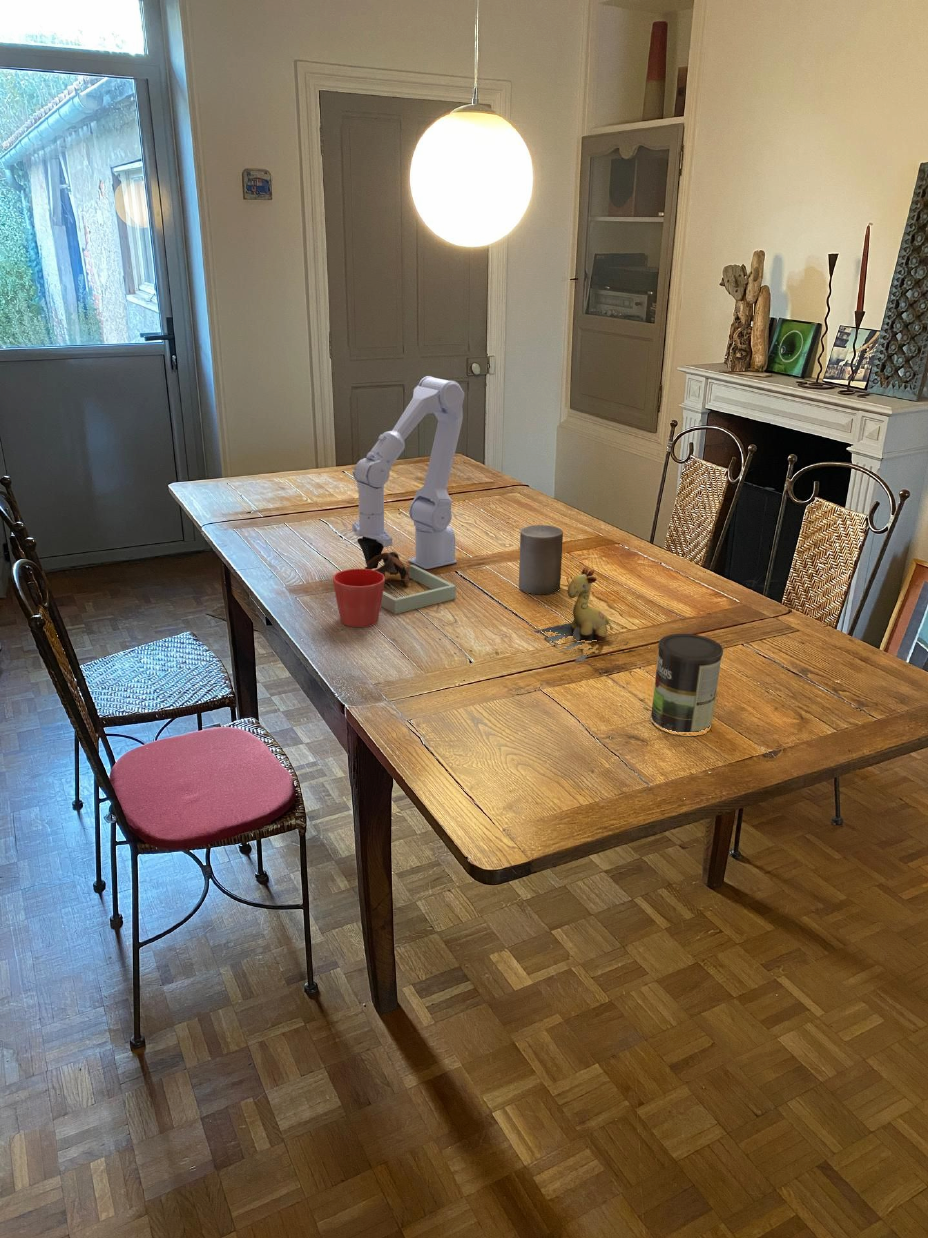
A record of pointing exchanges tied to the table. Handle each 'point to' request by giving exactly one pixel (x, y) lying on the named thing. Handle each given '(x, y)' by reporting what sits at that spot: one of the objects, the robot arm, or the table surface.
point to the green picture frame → (438, 594)
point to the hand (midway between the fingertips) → (372, 568)
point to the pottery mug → (390, 565)
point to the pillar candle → (540, 559)
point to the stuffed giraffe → (581, 615)
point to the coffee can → (686, 682)
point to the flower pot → (359, 596)
